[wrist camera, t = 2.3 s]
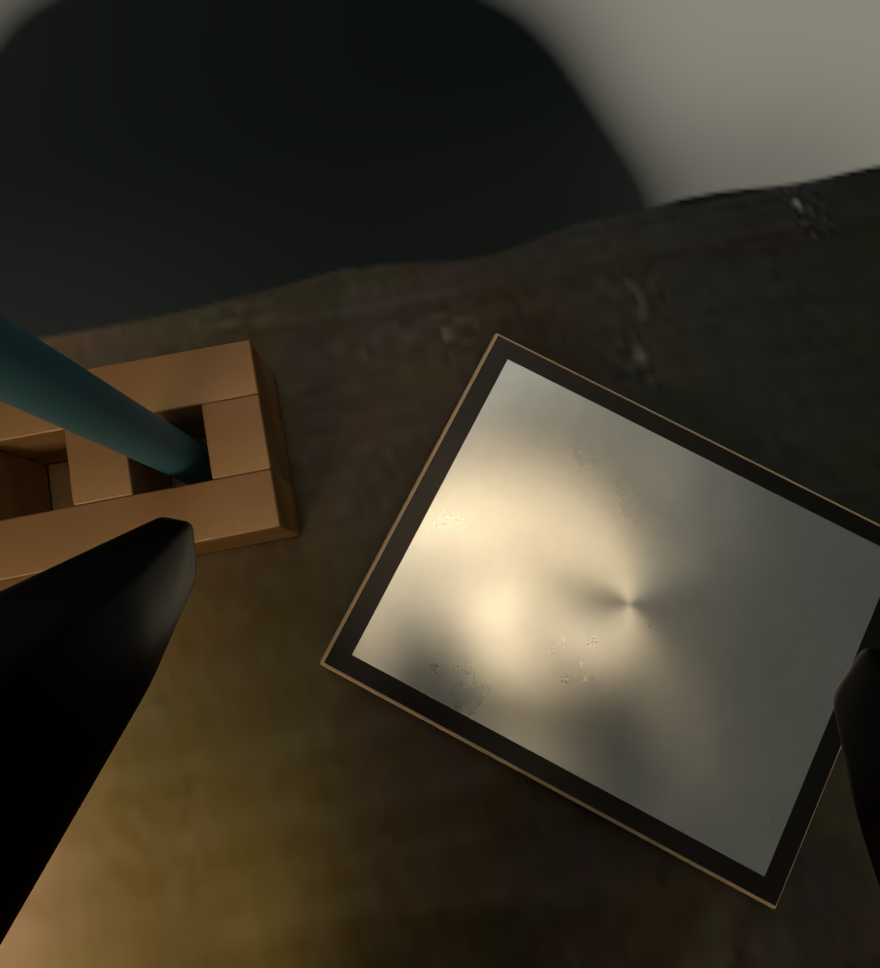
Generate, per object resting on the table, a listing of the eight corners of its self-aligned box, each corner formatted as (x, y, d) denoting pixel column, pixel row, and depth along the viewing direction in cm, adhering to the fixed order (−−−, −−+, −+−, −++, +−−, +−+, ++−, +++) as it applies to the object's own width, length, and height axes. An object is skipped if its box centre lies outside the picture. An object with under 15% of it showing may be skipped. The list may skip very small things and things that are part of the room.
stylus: (211, 496, 24) (-79, 370, 10) (176, 477, 24) (-160, 328, 10) (231, 460, 24) (-26, 291, 11) (197, 442, 24) (-105, 250, 11)
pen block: (301, 535, 24) (280, 526, 21) (8, 592, 24) (-65, 593, 20) (274, 373, 25) (249, 338, 21) (-10, 425, 24) (-81, 398, 21)
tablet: (763, 899, 22) (779, 914, 21) (321, 661, 23) (317, 664, 22) (908, 547, 24) (928, 545, 23) (493, 339, 25) (496, 329, 24)
